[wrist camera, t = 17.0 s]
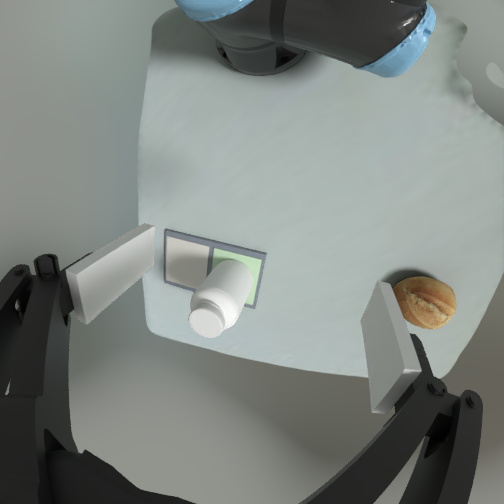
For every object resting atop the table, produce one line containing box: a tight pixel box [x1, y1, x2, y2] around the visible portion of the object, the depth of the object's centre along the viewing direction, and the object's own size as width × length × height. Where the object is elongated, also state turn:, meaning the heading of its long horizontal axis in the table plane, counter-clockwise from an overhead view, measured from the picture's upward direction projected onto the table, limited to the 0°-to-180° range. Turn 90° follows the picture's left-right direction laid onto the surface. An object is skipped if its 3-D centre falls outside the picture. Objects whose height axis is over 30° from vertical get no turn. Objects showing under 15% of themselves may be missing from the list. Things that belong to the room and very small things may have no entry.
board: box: [165, 229, 266, 309], centre depth 53 cm, size 12×20×1 cm, turn 81°
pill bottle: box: [189, 260, 253, 338], centre depth 45 cm, size 8×8×15 cm
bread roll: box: [393, 277, 456, 329], centre depth 41 cm, size 10×15×8 cm, turn 76°
